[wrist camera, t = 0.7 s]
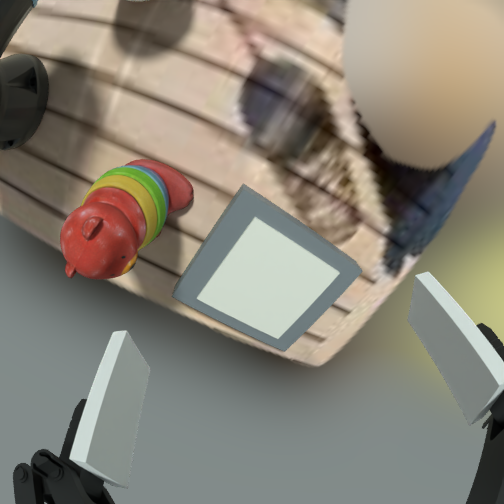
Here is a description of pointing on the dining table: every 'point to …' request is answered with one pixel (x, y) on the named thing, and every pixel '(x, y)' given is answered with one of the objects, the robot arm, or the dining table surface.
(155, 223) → the stacking bear
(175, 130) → the dining table surface
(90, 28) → the dining table surface
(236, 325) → the slate plinth
